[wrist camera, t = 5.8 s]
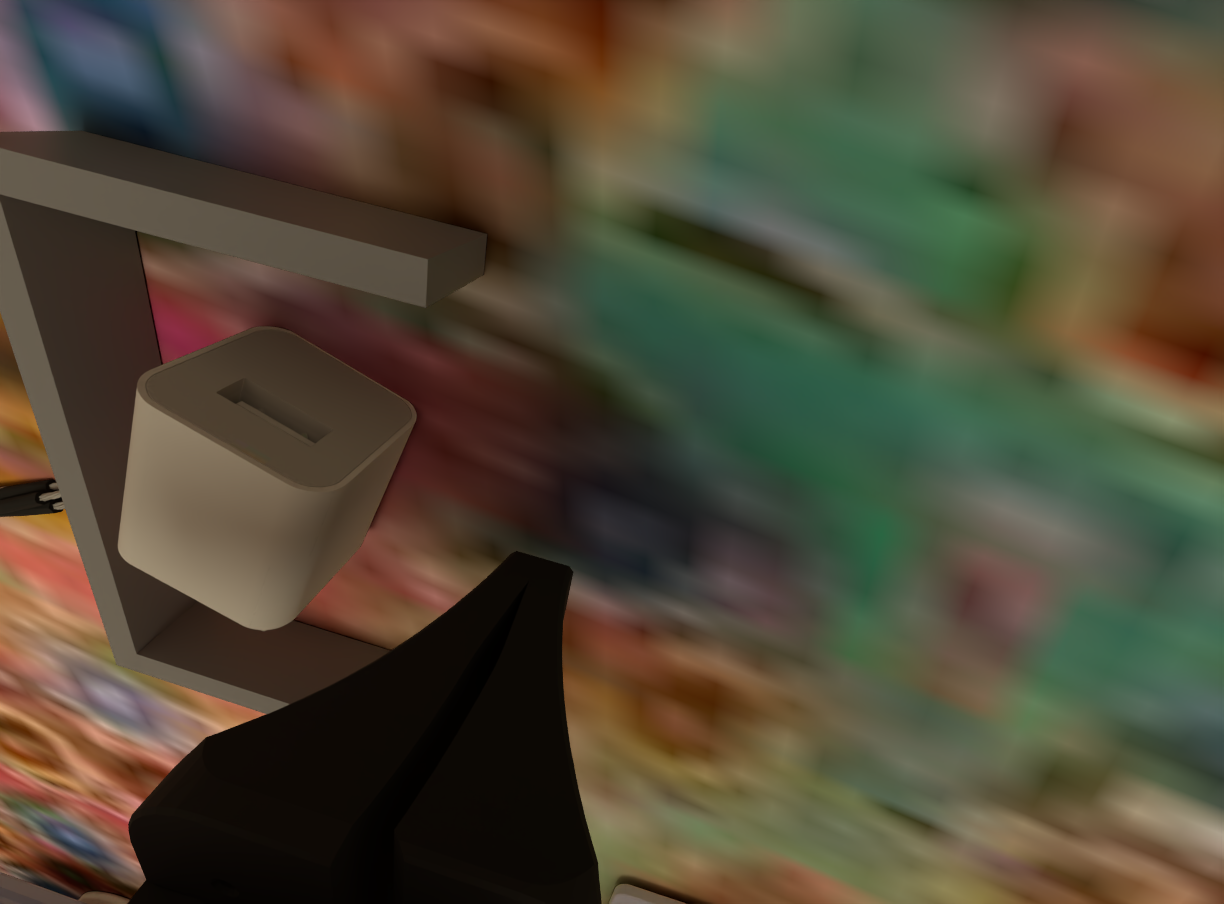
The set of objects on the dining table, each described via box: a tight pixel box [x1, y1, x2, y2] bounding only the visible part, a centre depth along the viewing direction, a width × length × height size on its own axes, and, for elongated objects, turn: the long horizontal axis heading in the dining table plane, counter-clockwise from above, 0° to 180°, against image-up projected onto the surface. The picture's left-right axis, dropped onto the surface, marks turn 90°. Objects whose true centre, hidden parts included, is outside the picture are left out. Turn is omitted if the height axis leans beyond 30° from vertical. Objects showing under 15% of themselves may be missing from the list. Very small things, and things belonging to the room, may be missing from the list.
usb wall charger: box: [118, 326, 417, 631], centre depth 14 cm, size 4×7×4 cm, turn 150°
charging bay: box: [0, 131, 487, 714], centre depth 14 cm, size 14×9×2 cm, turn 168°
